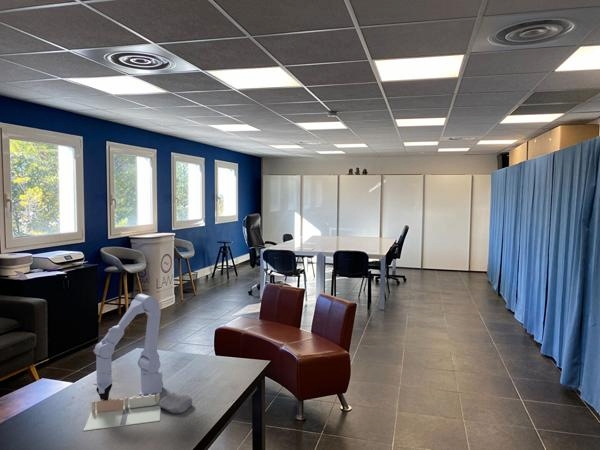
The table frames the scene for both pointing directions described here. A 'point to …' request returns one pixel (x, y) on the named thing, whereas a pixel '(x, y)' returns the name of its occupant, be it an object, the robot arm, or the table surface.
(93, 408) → the fence panel
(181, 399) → the stone block
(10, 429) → the table surface
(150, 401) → the fence fixed
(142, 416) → the card
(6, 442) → the table surface
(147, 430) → the table surface
